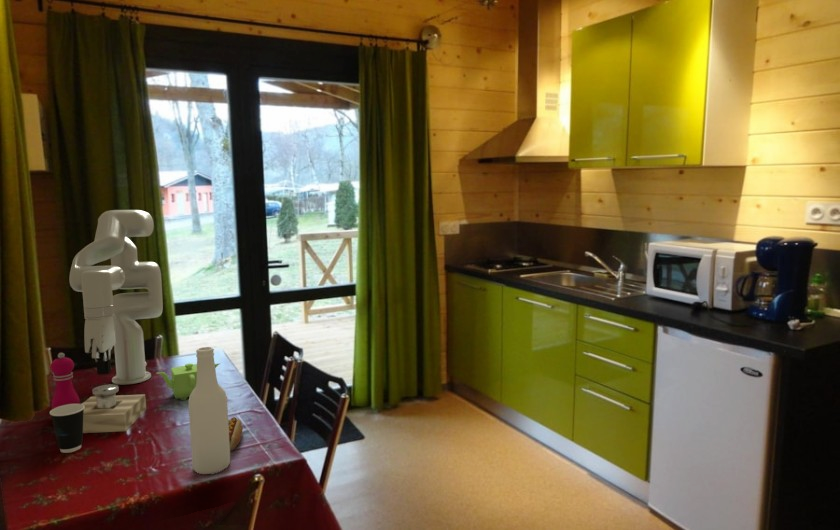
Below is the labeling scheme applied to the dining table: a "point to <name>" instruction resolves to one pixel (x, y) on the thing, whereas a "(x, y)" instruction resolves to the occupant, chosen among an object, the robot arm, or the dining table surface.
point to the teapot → (182, 380)
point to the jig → (113, 414)
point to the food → (234, 432)
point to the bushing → (105, 396)
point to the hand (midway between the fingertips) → (104, 373)
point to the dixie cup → (68, 426)
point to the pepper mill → (63, 382)
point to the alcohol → (208, 418)
